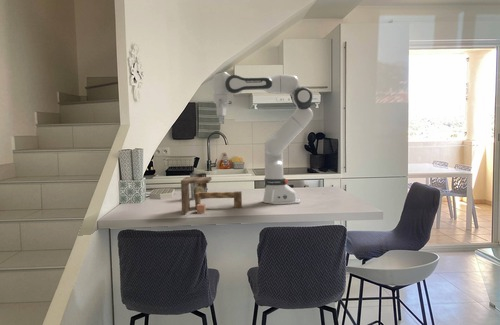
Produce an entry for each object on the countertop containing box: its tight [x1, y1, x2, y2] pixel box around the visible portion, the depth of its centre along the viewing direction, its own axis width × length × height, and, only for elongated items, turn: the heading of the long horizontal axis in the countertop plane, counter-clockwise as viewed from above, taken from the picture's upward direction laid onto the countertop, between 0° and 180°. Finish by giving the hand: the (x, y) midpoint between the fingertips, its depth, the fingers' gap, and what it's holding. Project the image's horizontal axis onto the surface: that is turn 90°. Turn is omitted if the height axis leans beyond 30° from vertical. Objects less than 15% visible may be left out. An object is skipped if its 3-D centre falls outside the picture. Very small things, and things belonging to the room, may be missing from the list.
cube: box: [196, 203, 206, 214], centre depth 216 cm, size 4×4×4 cm
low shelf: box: [180, 176, 212, 216], centre depth 216 cm, size 14×14×18 cm
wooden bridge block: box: [194, 191, 243, 210], centre depth 228 cm, size 26×9×8 cm, turn 88°
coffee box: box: [189, 172, 208, 200], centre depth 258 cm, size 9×6×16 cm
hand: (221, 123), depth 238 cm, fingers open, 8 cm apart
